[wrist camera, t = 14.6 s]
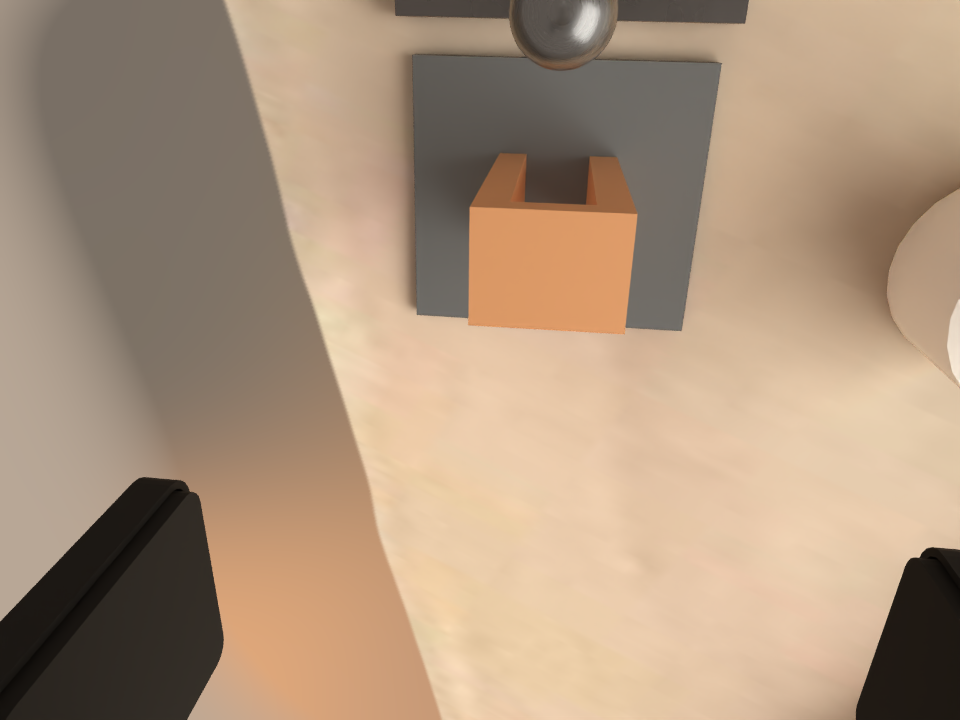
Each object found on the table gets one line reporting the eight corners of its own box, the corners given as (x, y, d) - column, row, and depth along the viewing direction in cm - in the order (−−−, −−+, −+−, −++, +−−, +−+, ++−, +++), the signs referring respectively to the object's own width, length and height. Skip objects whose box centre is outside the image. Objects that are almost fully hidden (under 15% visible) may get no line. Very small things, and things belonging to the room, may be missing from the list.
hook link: (500, 153, 32) (469, 206, 23) (617, 157, 32) (637, 214, 22) (497, 240, 34) (468, 325, 24) (608, 245, 34) (624, 334, 24)
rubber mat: (415, 54, 32) (412, 54, 31) (718, 62, 30) (721, 63, 30) (419, 310, 37) (416, 314, 36) (679, 326, 35) (681, 331, 35)
